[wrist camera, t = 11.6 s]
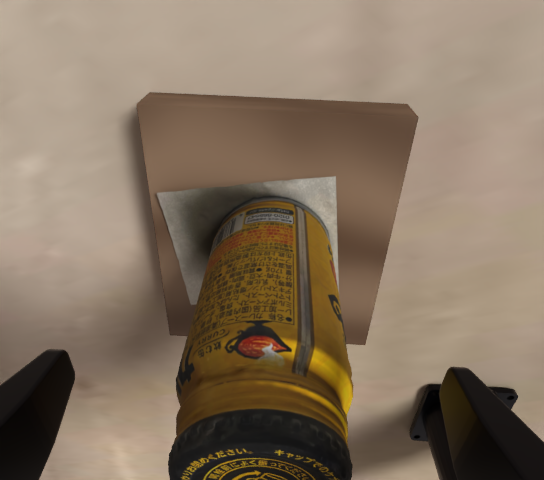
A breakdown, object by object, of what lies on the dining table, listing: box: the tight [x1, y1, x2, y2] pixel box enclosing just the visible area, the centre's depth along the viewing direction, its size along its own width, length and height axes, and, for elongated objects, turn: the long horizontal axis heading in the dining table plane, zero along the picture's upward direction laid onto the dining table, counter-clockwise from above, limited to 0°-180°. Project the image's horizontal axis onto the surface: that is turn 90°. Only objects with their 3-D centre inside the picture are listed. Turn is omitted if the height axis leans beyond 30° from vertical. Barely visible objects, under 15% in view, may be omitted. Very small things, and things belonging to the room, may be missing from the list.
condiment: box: [157, 176, 353, 480], centre depth 16 cm, size 7×8×12 cm
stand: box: [137, 92, 418, 345], centre depth 22 cm, size 14×12×2 cm
